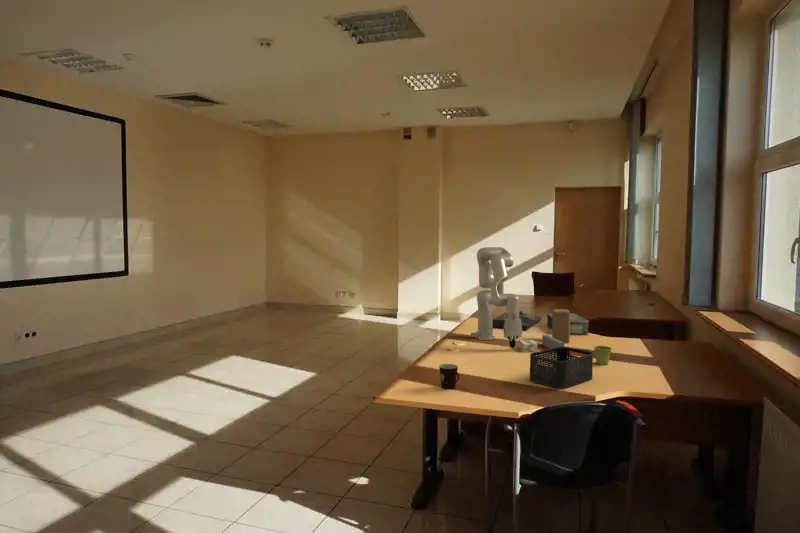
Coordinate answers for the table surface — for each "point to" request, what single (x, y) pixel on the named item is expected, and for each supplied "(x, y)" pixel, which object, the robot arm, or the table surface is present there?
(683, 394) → the table surface
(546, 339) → the curved slate gray block
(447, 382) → the coffee mug
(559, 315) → the wooden block
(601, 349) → the plant pot
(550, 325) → the metal box
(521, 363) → the table surface
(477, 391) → the table surface
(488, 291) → the robot arm
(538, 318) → the vintage computer
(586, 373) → the storage bin
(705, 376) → the table surface
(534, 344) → the off-white block
